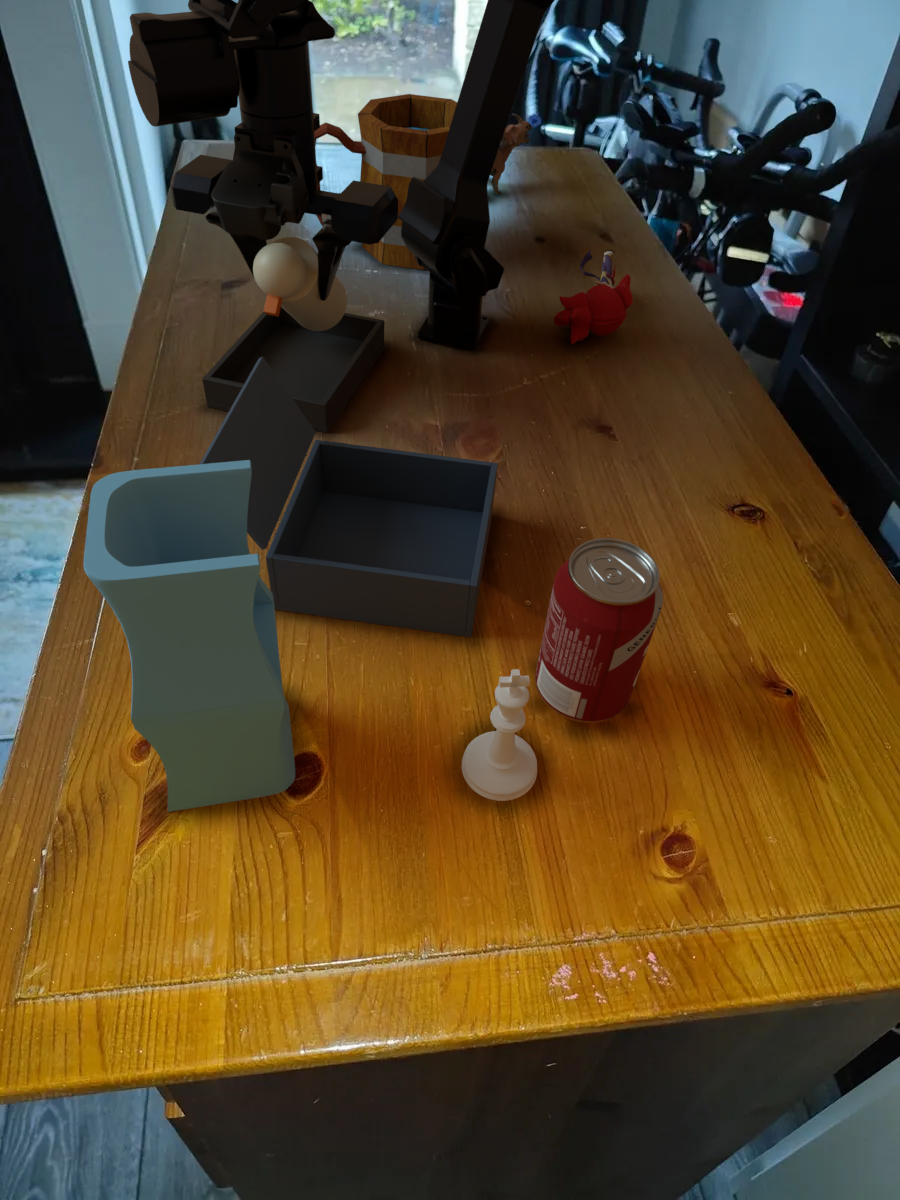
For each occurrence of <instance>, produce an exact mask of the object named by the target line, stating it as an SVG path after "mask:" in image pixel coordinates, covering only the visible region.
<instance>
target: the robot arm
mask: <svg viewBox="0 0 900 1200" xmlns="http://www.w3.org/2000/svg"><path fill="white" fill-rule="evenodd" d="M555 1H556V0H487V2H486V6H485V9H484V13H483V16H482V19H481V22H480V26H479V29H478V32H477V36H476V38H475V41H474V42H475V43H474V46H473V49H472V51H471V55H470V59H469V62H468V65H467V69H466V72H465V76H464V78H463V83H462V85H461V89H460V91H459V95H458V97H457V98H458V99H457V101H456V102H457V105H456V108H455V112H454V115H453V118H452V122H451V125H450V128H449V132H448V135H447V138H446V142H445V145H444V148H443V152H442V155H441V158H440V161H439V163H438V165H437V167H436V168H435V169H434V170H433V171H432V172H431V173H430V175H429V176H428V177H427V178H426V179H425V180H424V181H422V180H420V179H418V178H416V177H413V178H412V179H411V181H410V183H409V186H408V193H407V199H406V202H405V205H404V207H403V209H402V211H401V213H400V214H399V216H398V199H397V197H396V195H395V193H394V192H393V190H392V188H391V187H390V186H384V185H378V184H372V183H366V182H360V180H352V181H351V182H350V183H349V184H348V185H347V186H346V187H345V188H344V189H343V190H342V191H341V192H332V191H327V190H321V189H320V190H318V183H319V182H320V183H321V182H322V181H323V180H324V172H323V170H324V169H323V166H321V165H317V166H316V163H317V151H316V146H315V134H314V132H315V131H316V130H317V129H319V128H320V125H321V118H320V113H317V112H314V105H313V92H312V74H311V59H310V45H309V43H310V42H313V41H314V42H315V41H323V40H330V39H333V38H334V37H335V35H336V30H335V28H334V27H333V26H332V25H331V24H329V23H328V21H326V19H324V17H322V15H321V14H320V13H319V11H318V9H317V8H316V6H315V3H313V1H312V0H238V1H237V2H236V1H235V0H188V3H187V7H188V10H189V11H183V12H173V13H163V14H159V13H152V12H135V13H131V14H130V16H129V22H130V26H131V32H132V34H131V36H130V37H129V44H128V45H129V60H128V61H127V63H128V64H127V65H128V70H129V75H130V79H131V83H132V86H133V90H134V94H135V96H136V99H137V102H138V104H139V107H140V109H141V111H142V113H143V115H144V117H145V119H146V120H147V122H148V123H149V124H150V125H151V126H152V127H163V126H170V125H176V124H181V123H182V124H183V123H188V122H196V121H202V120H208V119H209V120H210V119H215V118H221V117H226V116H228V115H229V113H230V112H231V109H234V108H238V104H239V112H240V121H241V122H240V123H238V124H237V125H235V126H234V135H233V142H234V150H233V155H232V156H233V157H232V159H229V158H223V157H218V156H217V157H216V156H210V155H206V154H205V155H204V154H199V155H198V156H196V157H195V158H193V159H192V160H190V161H189V162H188V163H187V164H185V165H184V166H182V167H180V168H179V169H178V170H177V171H175V173H174V174H173V175H172V177H171V182H170V186H169V188H170V193H171V198H172V203H173V207H174V209H175V210H177V211H181V212H187V213H193V214H198V215H205V214H206V215H205V218H204V219H205V220H206V221H207V222H208V223H209V224H211V225H215V226H218V227H219V228H221V229H222V230H223V231H225V232H226V233H227V234H228V235H230V237H231V239H232V240H233V241H234V243H235V245H236V246H237V249H238V250H239V251H240V253H241V256H242V257H243V260H244V261H245V263H246V266H247V267H248V269H249V271H250V273H251V275H252V277H253V278H254V274H253V264H254V260H255V257H256V255H257V253H258V252H259V251H260V250H261V249H262V248H263V247H265V246H266V245H268V242H267V241H270V240H272V239H275V238H276V237H277V236H278V235H279V234H280V232H281V231H282V227H283V226H285V225H286V223H289V224H290V223H292V224H297V225H299V224H300V223H301V221H302V220H303V217H304V215H305V214H307V215H308V214H309V215H314V216H316V215H320V216H322V222H323V226H322V227H321V228H320V229H319V230H318V231H317V232H316V233H315V234H314V236H313V237H312V238H311V239H312V241H313V243H314V245H315V247H316V248H317V254H318V287H319V294H320V299H321V300H322V301H325V300H326V299H327V298H328V296H329V293H330V290H331V287H332V284H333V281H334V278H335V276H337V272H338V270H339V266H340V264H341V261H342V259H343V258H342V257H343V255H344V253H345V250H346V247H348V246H349V245H351V243H352V242H354V243H360V244H362V243H365V244H375V243H379V242H380V240H381V239H382V238H383V237H384V235H385V234H386V233H387V232H388V230H389V229H390V228H391V227H392V226H393V224H394V223H395V222H396V221H397V219H398V218H399V219H400V220H402V228H401V237H402V238H403V241H404V243H405V245H406V247H407V248H408V249H409V250H410V251H411V252H412V253H413V254H414V256H415V259H416V262H417V264H418V265H420V266H423V267H424V268H425V269H426V270H425V271H428V272H429V279H428V281H429V282H428V302H427V303H428V308H427V316H426V318H425V320H424V322H423V323H422V325H421V326H420V327H419V330H418V331H417V334H416V335H417V338H418V339H420V340H425V341H430V342H434V343H439V344H445V345H448V346H456V347H459V348H465V349H470V350H474V349H476V348H477V346H478V344H479V342H480V340H481V338H482V337H483V335H484V333H485V331H486V329H487V327H488V325H489V324H490V317H488V316H487V315H482V309H483V299H484V298H483V297H485V296H486V295H487V293H488V292H489V291H492V290H497V289H498V288H499V285H500V283H501V280H502V278H503V275H504V272H505V267H504V266H503V265H502V264H501V263H500V262H499V261H498V260H497V259H496V258H495V257H494V256H493V255H492V254H491V253H490V252H489V251H488V250H487V248H485V247H486V242H487V237H488V233H489V228H490V222H491V215H490V205H489V204H490V203H489V199H488V197H489V193H488V192H489V191H488V185H489V184H488V183H489V180H490V177H491V175H490V174H491V171H492V168H493V165H494V162H495V159H496V156H497V153H498V150H499V147H500V144H501V141H502V138H503V135H504V132H505V129H506V128H507V127H508V122H509V119H510V117H511V115H512V111H513V108H514V105H515V102H516V100H517V96H518V92H519V90H520V87H521V84H522V82H523V78H524V75H525V73H526V68H527V65H528V63H529V61H530V57H531V54H532V51H533V48H534V45H535V43H536V39H537V36H538V33H539V30H540V27H541V24H542V21H543V18H544V16H545V14H546V12H547V10H548V9H549V7H550V6H552V5H553V3H554V2H555ZM207 213H208V214H207ZM254 280H255V278H254ZM257 286H258V285H257ZM258 288H259V286H258Z"/></svg>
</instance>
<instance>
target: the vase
mask: <svg viewBox="0 0 900 1200" xmlns="http://www.w3.org/2000/svg"><path fill="white" fill-rule="evenodd" d="M251 476H252V468H251V461H250V460H243V461H232V462H221V463H209V464H200V463H199V464H189V465H188V464H187V465H177V466H166V467H155V468H144V469H143V468H142V469H134V470H133V469H132V470H125V471H118V472H113V473H110V474H108V475H105V476H104V477H102V478H100V479H98V480H97V481H96V482H95V483H94V484H93V486H92V488H91V491H90V498H89V505H88V515H87V525H86V534H85V542H84V553H83V570H84V573H85V574H86V576H87V577H88V579H89V580H90V582H91V583H92V584H93V586H94V587H95V588H96V589H97V590H98V592H99V593H100V594H101V596H102V597H103V598H104V600H105V601H106V603H107V604H108V605H109V607H110V609H111V610H112V612H113V613H114V615H115V617H116V618H117V620H118V622H119V623H120V625H121V628H122V632H123V633H124V636H125V638H126V643H127V646H128V652H129V657H130V668H131V704H130V705H131V707H130V721H131V723H132V725H133V728H134V730H135V731H136V732H137V733H138V734H140V735H141V736H142V738H144V740H146V741H147V742H148V744H150V746H151V747H152V748H153V749H154V751H155V752H156V753H157V755H158V756H159V758H160V760H161V763H162V765H163V767H164V772H165V775H166V776H165V777H166V784H167V785H166V786H167V813H170V812H177V811H182V810H183V811H184V810H189V809H196V808H201V807H208V806H215V805H221V804H227V803H233V802H234V803H235V802H239V801H240V802H241V801H244V800H245V801H246V800H253V799H259V798H264V797H269V796H274V795H277V794H281V793H283V792H285V791H286V790H288V789H289V787H291V786H292V784H293V783H294V781H295V779H296V762H295V751H294V744H293V735H292V734H293V733H292V723H291V714H290V713H291V712H290V707H289V703H288V701H287V699H286V696H285V694H284V688H283V687H284V686H283V680H282V668H281V659H280V648H279V639H278V630H277V629H278V628H277V618H276V610H275V607H274V600H273V593H272V592H271V589H270V588H269V587H268V586H267V584H266V583H265V582H264V580H263V579H262V577H261V575H260V572H261V559H260V554H259V553H251V552H250V547H249V545H248V544H249V543H248V542H249V541H248V533H247V514H248V502H249V493H250V484H251Z"/></svg>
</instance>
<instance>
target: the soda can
mask: <svg viewBox="0 0 900 1200" xmlns="http://www.w3.org/2000/svg"><path fill="white" fill-rule="evenodd" d="M660 579H661V572H660V569H659V566H658V564H657V562H656V561H655V559H654V558H653V557H652V556H651V554H650V553H649V552H647V551H646V550H645V549H643V548H641V547H640V546H638V545H636V544H635V543H632V542H630V541H627V540H623V539H620V538H615V537H614V538H613V537H601V538H600V537H599V538H593V539H588V540H586V541H585V542H582V543H581V544H579V545H577V547H575V549H573V550H572V552H571V554H570V556H569V558H568V559H567V560H565V562H563V563H562V564H561V566H560V567H559V568H558V570H557V572H556V574H555V576H554V580H553V584H552V589H551V594H550V599H549V604H548V609H547V614H546V619H545V624H544V629H543V634H542V639H541V644H540V648H539V653H538V658H537V663H536V668H535V672H534V673H535V674H534V683H535V687H536V691H537V694H538V695H539V697H540V698H541V700H542V702H543V703H544V704H545V705H546V706H547V707H548V708H549V709H550V710H551V711H553V712H554V713H555V714H557V715H559V716H561V717H563V718H565V719H566V720H567V719H568V720H571V721H574V722H576V723H577V722H578V723H584V724H596V723H602V722H606V721H609V720H612V719H614V718H616V717H617V716H619V715H620V714H621V713H622V712H623V711H624V710H625V709H626V707H627V706H628V704H629V703H630V700H631V698H632V694H633V692H634V689H635V685H636V683H637V680H638V677H639V674H640V671H641V669H642V666H643V662H644V660H645V657H646V654H647V652H648V650H649V649H648V648H649V646H650V643H651V640H652V637H653V634H654V632H655V629H656V625H657V623H658V621H659V620H658V619H659V617H660V614H661V611H662V608H663V604H664V592H663V588H662V585H661V582H660Z"/></svg>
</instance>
